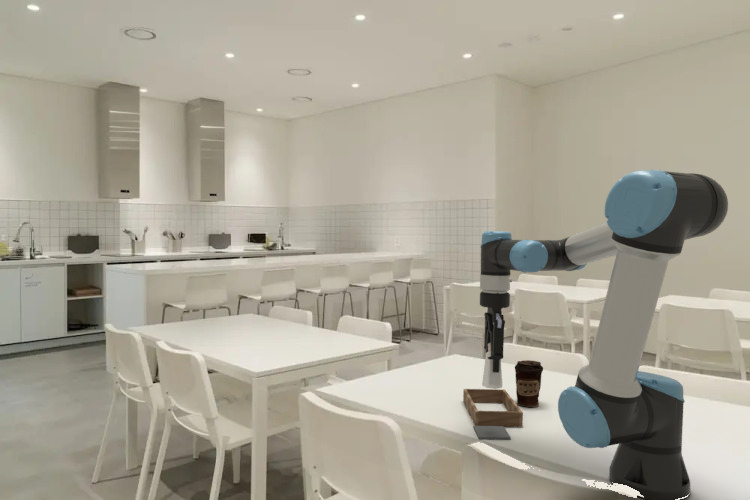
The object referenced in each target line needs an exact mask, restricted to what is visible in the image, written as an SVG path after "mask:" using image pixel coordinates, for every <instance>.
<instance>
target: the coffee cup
mask: <svg viewBox="0 0 750 500" xmlns="http://www.w3.org/2000/svg"><path fill="white" fill-rule="evenodd" d="M514 371H515V386H516V387H515V389H516V391H515V392H516V393H515V394H516V404H517V406H521V407H526V408H534V407H535V408H537V407H539V403H540V402H539V397H540V391H541V386H542V373H543V371H544V367H543V366H542V364H541V362H540V361H536V360H528V359H527V360H520V361H517V363H516V364H515V366H514Z"/></svg>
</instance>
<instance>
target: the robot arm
mask: <svg viewBox="0 0 750 500" xmlns="http://www.w3.org/2000/svg"><path fill="white" fill-rule="evenodd" d="M604 204H605V205H604V216H605V218H606V219H607V220H606V222H603V223H602V224H599V225H596V226H593V227H591V228H587V229H585V230H583V231H581V232H578V233H574V234H572V235H571V236H567V237H564V238H561V239H557V240H556V239H555V240H553V239H547V240H546V239H545V240H543V239H513V238H512V233H511V232H510V231H501V230H500V231H499V230H498V231H497V230H496V231H495V230H493V231H492V230H491V231H489V230H486V231H483V233H482V234H481V244H480V274H479V277H480V278H479V289H480V290H481V291H480V293H479V305H480V306H481V307H483V308H487V311H486V312H484V346H483V349H484V350H485V354H486V353H487V352H488V343H491V357H488V359H490V362H489V385H500V374H501V371H502V363H501V362H502V359H504V344H505V343H504V340H505V339H504V338H505V324H506V321H505V318H504V317H505V316H504V314H502V309H507V308H509V307H510V303H511V293H509V292H508V291H511V283H512V282H513V278H511V274H512V273H511V271H516V272H521V273H525V274H527V273H538V272H546V271H549V272H550V271H553V272H555V271H556V272H557V271H565V272H573V271H579V270H582V269H584V268H585V267H586V265H588V264H590V263H593V262H597V261H601V260H604V259H607V258H611V257H614V256H615V259H614V263H613V268H612V272H611V276H610V279H609V283H608V287H607V292H606V294H605V295H606V296H605V300H604V304H603V306H602V307H603V308H602V311H601V316H600V319H599V323H598V326H597V331H596V335H595V340H594V344H593V346H592V351H591V354H590V360H589V363H588V364H587V365H584V366H582V367H581V368H580V369H579V370H578V373H577V377H576V381H575V385H574V386H568V387H567V388H566V389H563V390H562V391H561V392H560V395H559V396H558V402H557V410H558V416H559V419H560V423H562V427H563V428H564V431H565V432H566V433H567V435H568V436H569V438H570V439H571V440H572V441H573V442H575V443H576V444H578V445H579V446H581V447H583V448H586V449H597V448H598V449H599V448H600V449H603V448H607V447H610V446H614V445H617V448H616V450H615V453H614V455H613V457H612V460H611V461H610V462H611V463H610V465H609V469H608V471H609V473H608V474H609V476H608V479H609V481H610V483H611V482H613V483H618V484H623V485H627V486H629V487H631V488H633V489H635V490H637V491H639V492H640V494H641V495H643V496H644V498H645V500H675V499H678V498H682V497H685V496H687V495H688V494H689V493H690V494H691V479H690V477H689V474H688V470H687V467H686V463H685V460H684V457H683V423H684V421H683V420H684V403H685V402H686V401H685V399H684V398H685V397H684V387H683V385H682V383H681V382H679V380H677V379H675V378H672V377H668V376H666V375H660V374H657V373H651V372H646V371H642V370H641V371H640V370H639V368H640V366H641V362H642V358H643V355H644V351H645V348H646V344H647V340H648V336H649V333H650V329H651V326H652V322H653V319H654V314H655V311H656V308H657V305H658V301H659V297H660V293H661V289H662V288H663V287H662V286H663V282H664V279H665V276H666V271H667V268H668V264H669V261H671V260H672V259H674V258H676V257H679V256H680V255H681V254H682V250H683V247H684V243H685V241H686V240H690V239H694V238H700V237H704V236H706V235H709V234H711V233H713V232H714V231H715V230H717V229H718V228H720V226H721V225H722V224H723V222H724V221H725V220H726V217H727V215H728V210H729V199H728V195H727V193H726V191H725V189H724V188H723V187H722V185H721V184H719V183H718V182H717V181H716V180H715V179H713V178H712V177H709V176H708V175H704V174H702V173H701V174H699V173H690V172H688V173H687V172H676V171H667V170H661V169H659V170H658V169H650V170H649V169H648V170H636V171H633V172H630V173H627V174H625V175H624V176H623V177H621V178H620V179H619V180H617V181H616V182H615V183H614V184H613V186H612V187H611V189H610V191H609V192H608V194H607V197H606V199H605V203H604ZM644 498H643V499H644Z"/></svg>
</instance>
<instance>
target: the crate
mask: <svg viewBox="0 0 750 500" xmlns="http://www.w3.org/2000/svg"><path fill="white" fill-rule="evenodd" d="M462 393H463V396H462V397H463V399H462V400H463V401H462V402H463V405H465V408H466V410H467V412H468V415H469V416H471V417H470V418H472V419H471V420H473V421H472V422H473V426H504V428H523V427H524V426H523V421H524V419H523V418H524V417H523V416H524V412H523V410H522V409H521V408H520V406H519V405H518V404H517V402H515V401H514V399H513V398H512V397H511V395H510V394H509V393H508V391H506V389H501V388H497V389H493V388H485V389H484V388H463V392H462ZM476 404H502V405H503V406H504V408H505V409H506V410H478V408H477V406H476Z"/></svg>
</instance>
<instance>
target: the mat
mask: <svg viewBox="0 0 750 500" xmlns="http://www.w3.org/2000/svg"><path fill="white" fill-rule="evenodd" d="M472 428H473V430H474V432H475V434H476V437H477V438H478V440H500V441H501V440H502V441H503V440H505V441H510V440H511V439H512V438H511V435H510V434H509V433H508V431H507V430H506V427H504V426H475V425H473V426H472Z"/></svg>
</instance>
